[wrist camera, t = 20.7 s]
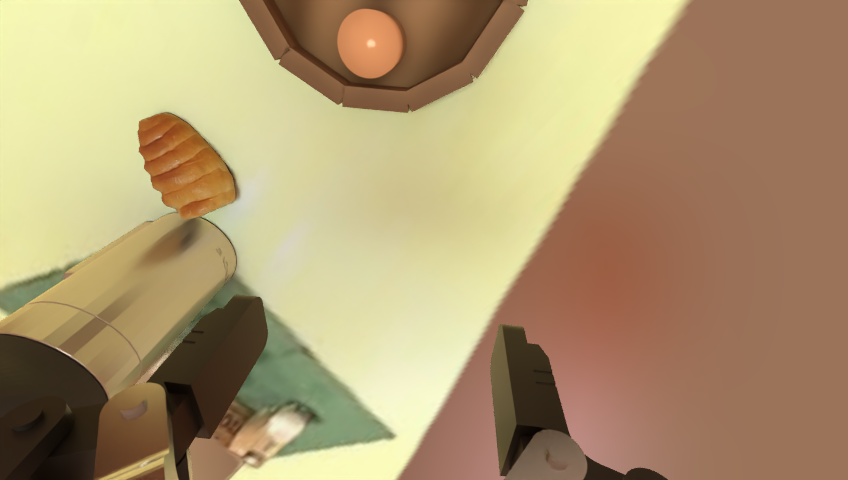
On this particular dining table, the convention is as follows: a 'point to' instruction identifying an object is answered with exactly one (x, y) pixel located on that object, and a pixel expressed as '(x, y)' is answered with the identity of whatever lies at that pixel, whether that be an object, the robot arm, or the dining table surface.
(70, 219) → the dining table surface
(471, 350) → the dining table surface
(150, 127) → the pastry
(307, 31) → the tray
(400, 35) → the bead
